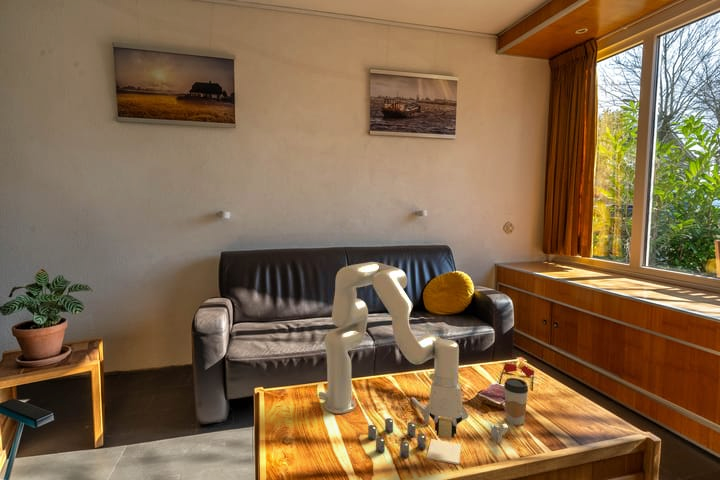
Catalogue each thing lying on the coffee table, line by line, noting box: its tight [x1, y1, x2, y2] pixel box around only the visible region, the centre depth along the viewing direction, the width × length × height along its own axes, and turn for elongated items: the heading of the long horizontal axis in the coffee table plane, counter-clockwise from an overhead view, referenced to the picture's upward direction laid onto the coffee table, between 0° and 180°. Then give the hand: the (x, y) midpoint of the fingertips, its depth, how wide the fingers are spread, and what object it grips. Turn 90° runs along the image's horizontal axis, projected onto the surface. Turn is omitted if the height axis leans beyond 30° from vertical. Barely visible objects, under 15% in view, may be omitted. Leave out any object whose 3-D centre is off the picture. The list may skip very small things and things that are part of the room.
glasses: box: [498, 363, 535, 392], centre depth 181 cm, size 14×16×5 cm
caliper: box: [410, 396, 430, 426], centre depth 154 cm, size 20×1×6 cm, turn 9°
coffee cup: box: [503, 377, 529, 426], centre depth 146 cm, size 8×8×15 cm
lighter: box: [490, 423, 509, 445], centre depth 133 cm, size 7×2×8 cm, turn 16°
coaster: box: [426, 438, 462, 465], centre depth 128 cm, size 10×10×1 cm
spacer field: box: [367, 417, 427, 460], centre depth 133 cm, size 20×15×4 cm
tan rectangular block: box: [438, 416, 453, 441], centre depth 128 cm, size 4×4×6 cm
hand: (445, 433), depth 128 cm, fingers closed on tan rectangular block, 4 cm apart
